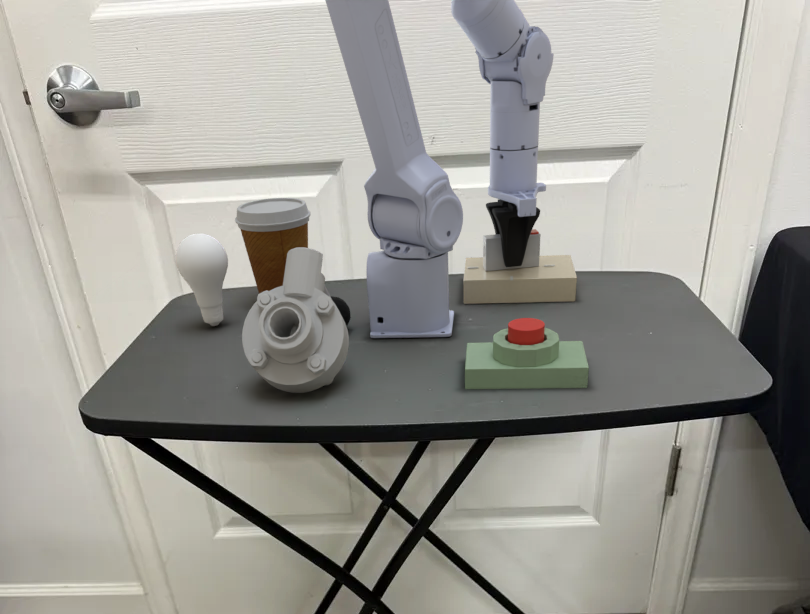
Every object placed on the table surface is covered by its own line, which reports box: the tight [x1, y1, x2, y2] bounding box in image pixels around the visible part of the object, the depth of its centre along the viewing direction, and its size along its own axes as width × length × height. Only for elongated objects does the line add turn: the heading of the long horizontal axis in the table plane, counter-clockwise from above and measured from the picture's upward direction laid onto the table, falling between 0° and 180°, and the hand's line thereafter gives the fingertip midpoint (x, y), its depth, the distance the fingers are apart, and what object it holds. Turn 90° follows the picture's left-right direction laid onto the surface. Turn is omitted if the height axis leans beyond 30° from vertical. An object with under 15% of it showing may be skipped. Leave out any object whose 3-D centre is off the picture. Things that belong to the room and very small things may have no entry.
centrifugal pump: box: [241, 247, 351, 394], centre depth 83 cm, size 10×20×15 cm
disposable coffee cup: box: [234, 197, 311, 294], centre depth 100 cm, size 10×10×12 cm
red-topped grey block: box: [482, 228, 541, 271], centre depth 99 cm, size 7×2×4 cm, turn 97°
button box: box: [464, 327, 590, 390], centre depth 78 cm, size 12×7×4 cm, turn 85°
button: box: [507, 317, 546, 345], centre depth 77 cm, size 4×4×2 cm
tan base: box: [462, 254, 578, 305], centre depth 101 cm, size 14×11×3 cm
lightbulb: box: [174, 232, 229, 327], centre depth 94 cm, size 6×6×11 cm
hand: (511, 263), depth 100 cm, fingers closed on red-topped grey block, 2 cm apart
